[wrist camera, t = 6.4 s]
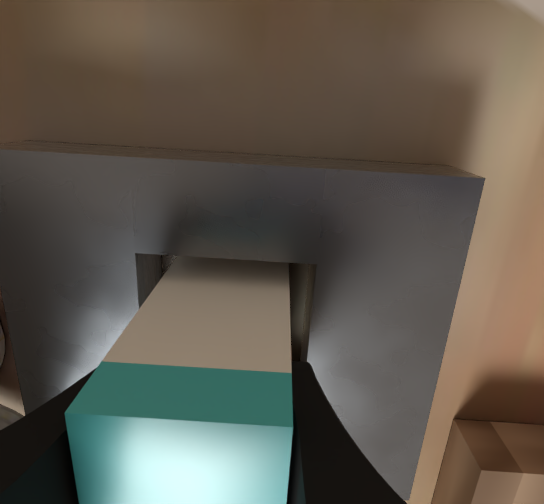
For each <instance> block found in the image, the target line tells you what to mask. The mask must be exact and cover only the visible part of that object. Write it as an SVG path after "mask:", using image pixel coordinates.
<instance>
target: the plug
mask: <svg viewBox="0 0 544 504" xmlns="http://www.w3.org/2000/svg"><path fill="white" fill-rule="evenodd" d="M65 420H66V426H67V432H68V438H69V444H70V451H71V457H72V463H73V469H74V475H75V482H76V488H77V494H78V500H79V504H286V502H287V491H288V480H289V468H290V457H291V446H292V434H293V404H292V366H291V329H290V291H289V263H286V262H270V261H254V260H238V259H222V258H206V257H190V256H177V257H176V259H175V260H174V261H173V263H172V264H171V266H170V267H169V268H168V270H167V271H166V272H165V274H164V275H163V277H162V278H161V279H160V281H159V282H158V284H157V285H156V286H155V288H154V289H153V291H152V292H151V293H150V295H149V296H148V297H147V299H146V300H145V302H144V303H143V304H142V306H141V307H140V309H139V310H138V311H137V313H136V314H135V316H134V317H133V318H132V320H131V321H130V323H129V324H128V325H127V327H126V328H125V329H124V331H123V332H122V334H121V335H120V336H119V338H118V339H117V341H116V342H115V343H114V345H113V346H112V348H111V349H110V350H109V352H108V353H107V354H106V356H105V357H104V359H103V360H102V361H101V363H100V364H99V366H98V367H97V368H96V370H95V371H94V373H93V374H92V375H91V377H90V378H89V380H88V381H87V382H86V384H85V385H84V386H83V388H82V389H81V391H80V392H79V393H78V395H77V396H76V398H75V399H74V400H73V402H72V403H71V405H70V406H69V407H68V409H67V410H66V411H65Z"/></svg>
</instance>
